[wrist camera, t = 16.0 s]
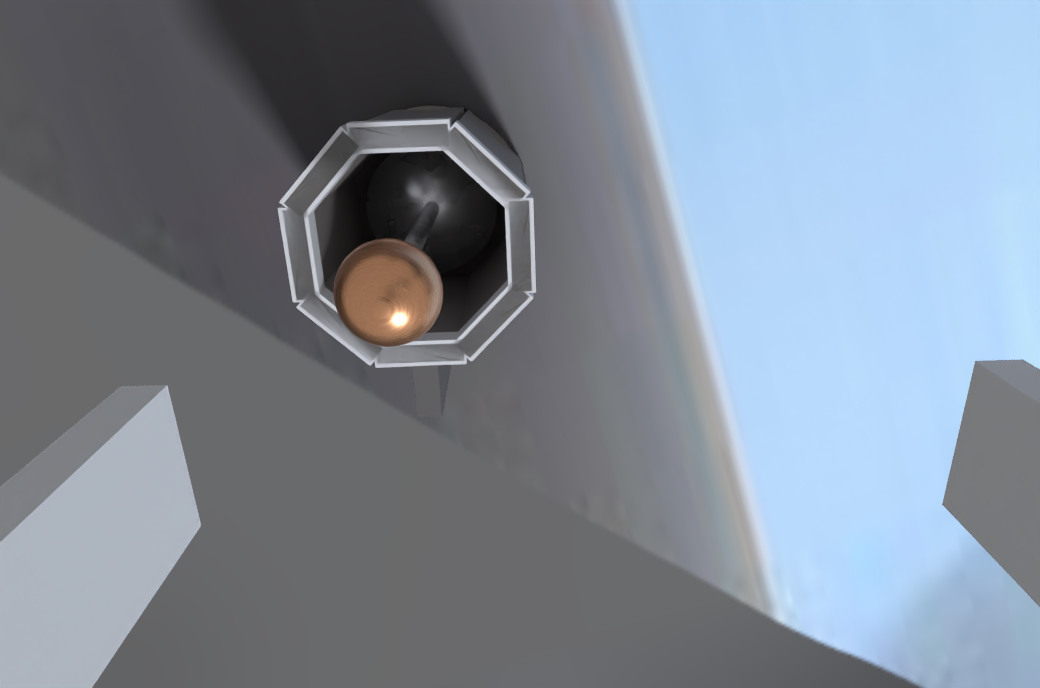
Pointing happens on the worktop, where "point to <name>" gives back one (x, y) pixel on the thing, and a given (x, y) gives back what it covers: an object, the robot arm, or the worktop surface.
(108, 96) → the worktop surface
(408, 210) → the copper ball knob
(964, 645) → the worktop surface
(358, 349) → the grey octagonal tube
